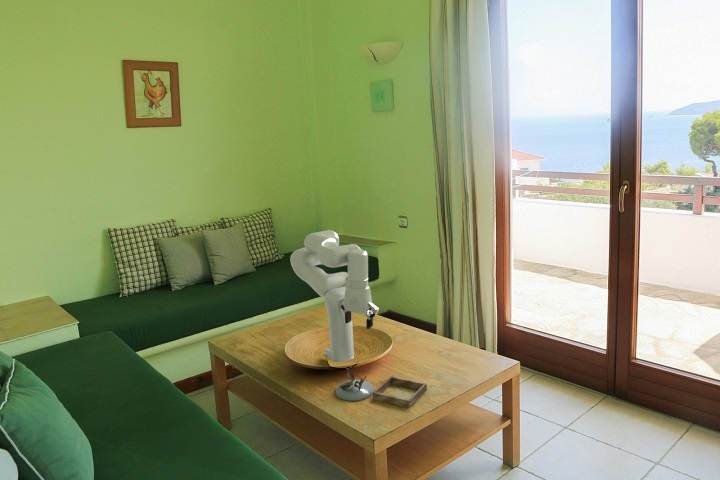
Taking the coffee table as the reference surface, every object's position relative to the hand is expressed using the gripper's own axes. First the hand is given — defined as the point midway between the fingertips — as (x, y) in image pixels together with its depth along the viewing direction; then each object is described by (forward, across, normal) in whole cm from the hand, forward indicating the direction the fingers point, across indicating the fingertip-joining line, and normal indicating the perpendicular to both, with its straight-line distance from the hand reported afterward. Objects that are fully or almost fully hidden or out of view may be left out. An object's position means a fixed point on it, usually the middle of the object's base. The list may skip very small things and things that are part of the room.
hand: (358, 325), depth 222 cm
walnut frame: (+19, +22, -6) cm, 30 cm away
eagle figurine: (+19, +5, -12) cm, 24 cm away
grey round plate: (+20, +6, -13) cm, 25 cm away
